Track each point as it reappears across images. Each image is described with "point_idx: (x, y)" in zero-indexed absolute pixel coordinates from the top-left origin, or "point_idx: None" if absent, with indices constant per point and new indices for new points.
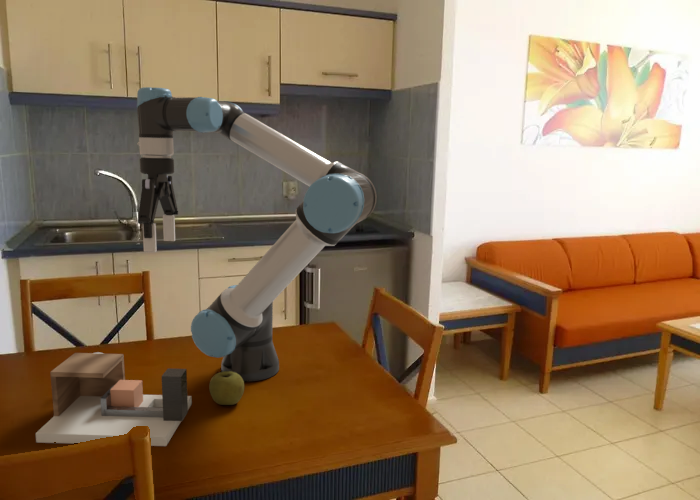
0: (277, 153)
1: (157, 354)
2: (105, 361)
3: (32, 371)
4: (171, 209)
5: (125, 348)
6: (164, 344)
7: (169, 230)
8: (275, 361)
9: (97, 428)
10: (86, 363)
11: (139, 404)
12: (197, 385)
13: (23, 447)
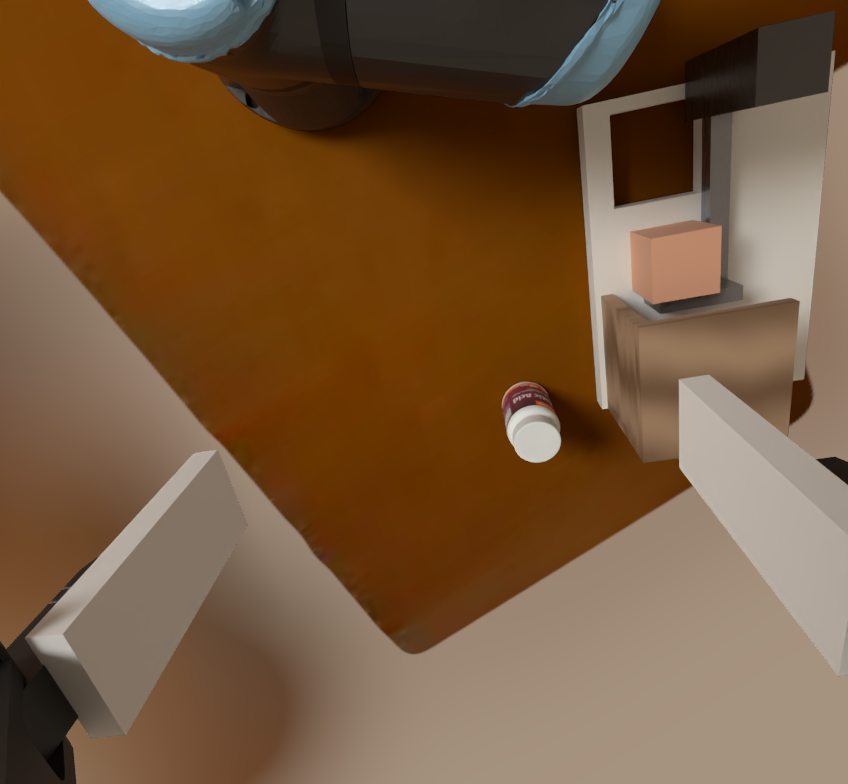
0: None
1: (298, 372)
2: (703, 347)
3: (475, 571)
4: (13, 738)
5: (292, 467)
6: (228, 389)
7: (187, 543)
8: None
9: (784, 260)
10: None
11: (658, 226)
12: (458, 153)
13: (809, 382)
